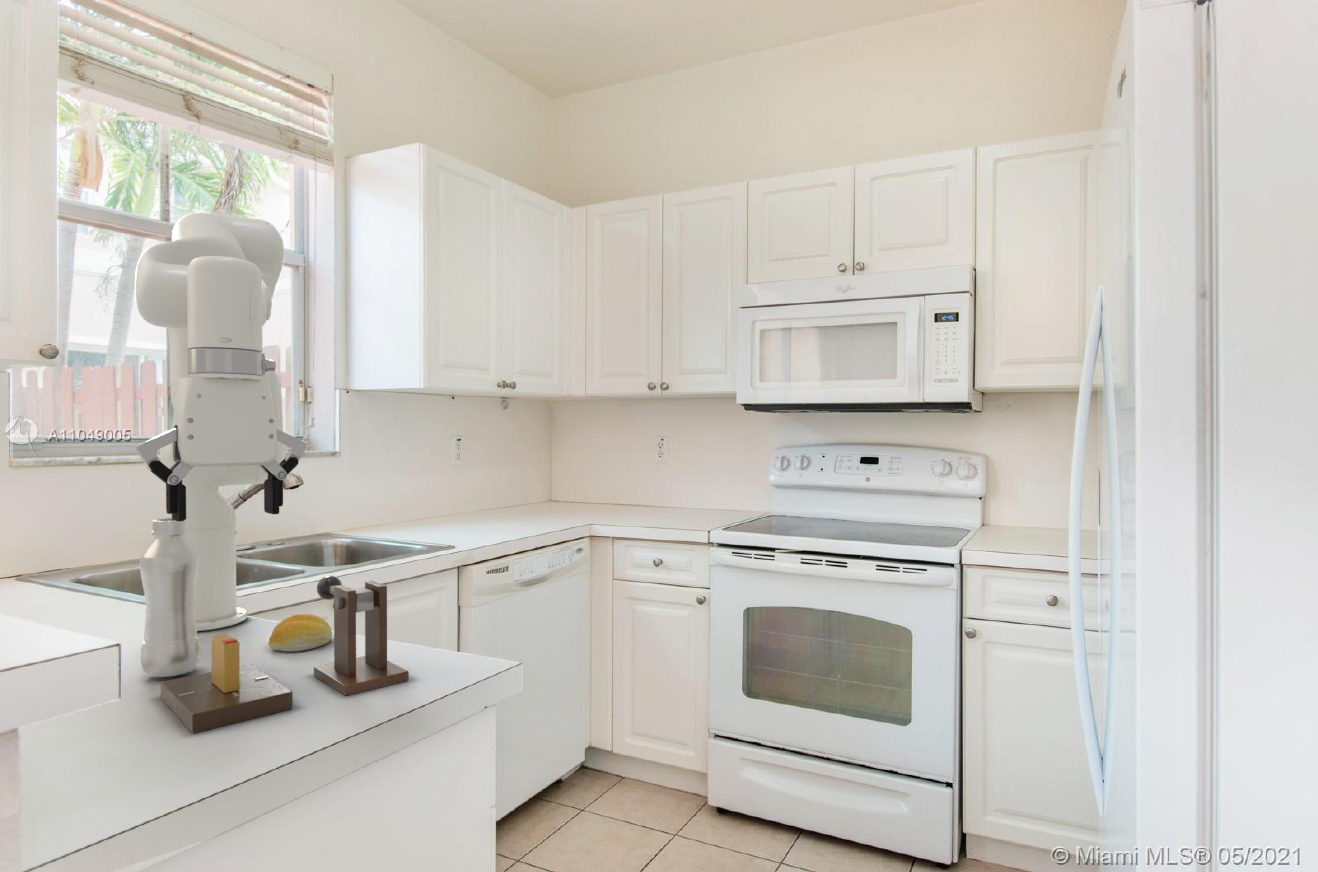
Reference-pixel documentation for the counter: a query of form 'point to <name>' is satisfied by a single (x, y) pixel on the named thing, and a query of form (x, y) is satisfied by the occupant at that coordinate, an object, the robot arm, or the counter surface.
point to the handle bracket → (346, 668)
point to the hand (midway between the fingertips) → (227, 516)
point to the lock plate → (224, 699)
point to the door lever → (362, 594)
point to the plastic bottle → (169, 601)
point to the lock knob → (225, 662)
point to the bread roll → (300, 633)
